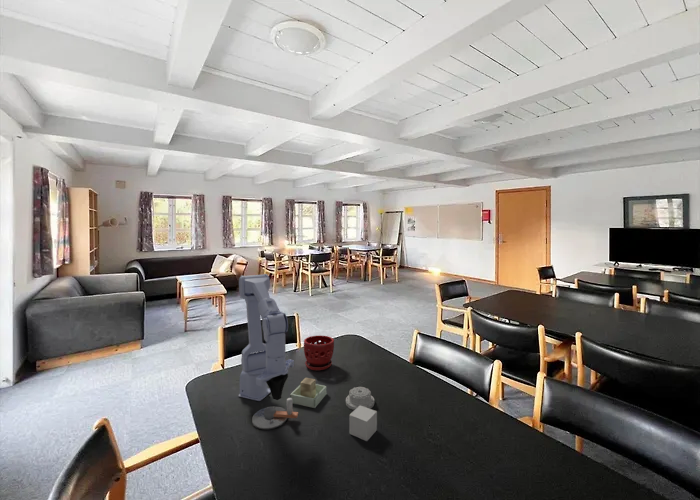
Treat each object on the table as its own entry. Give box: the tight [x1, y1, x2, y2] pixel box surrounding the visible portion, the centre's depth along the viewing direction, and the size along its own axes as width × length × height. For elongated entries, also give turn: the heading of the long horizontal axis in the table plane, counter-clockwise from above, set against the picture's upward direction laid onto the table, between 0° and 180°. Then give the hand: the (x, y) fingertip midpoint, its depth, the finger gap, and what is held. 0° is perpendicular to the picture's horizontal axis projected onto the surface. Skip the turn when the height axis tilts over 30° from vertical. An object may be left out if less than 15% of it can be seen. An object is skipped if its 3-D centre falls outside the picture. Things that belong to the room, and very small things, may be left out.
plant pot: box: [303, 335, 335, 371], centre depth 140 cm, size 13×13×12 cm
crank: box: [264, 397, 299, 419], centre depth 101 cm, size 11×4×6 cm, turn 84°
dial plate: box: [251, 406, 288, 431], centre depth 102 cm, size 11×11×1 cm
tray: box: [289, 383, 328, 409], centre depth 114 cm, size 10×10×3 cm
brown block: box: [299, 377, 317, 398], centre depth 113 cm, size 4×4×6 cm
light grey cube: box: [348, 405, 378, 442], centre depth 95 cm, size 6×6×6 cm
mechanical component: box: [345, 386, 375, 411], centre depth 111 cm, size 10×4×10 cm
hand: (276, 398), depth 96 cm, fingers closed
